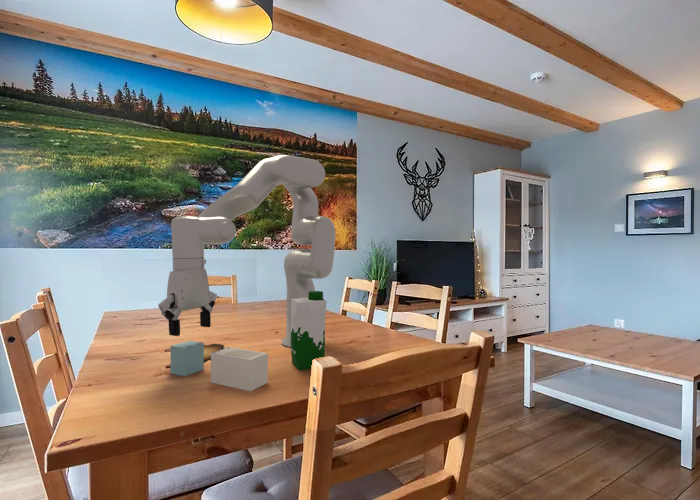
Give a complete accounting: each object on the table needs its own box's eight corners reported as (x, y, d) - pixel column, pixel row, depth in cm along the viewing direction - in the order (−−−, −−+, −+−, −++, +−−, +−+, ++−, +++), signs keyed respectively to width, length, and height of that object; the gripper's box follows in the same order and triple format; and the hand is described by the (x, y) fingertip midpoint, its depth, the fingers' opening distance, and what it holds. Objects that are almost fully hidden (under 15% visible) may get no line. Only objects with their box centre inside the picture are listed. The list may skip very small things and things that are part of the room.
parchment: (200, 345, 124) (200, 342, 124) (230, 344, 124) (230, 342, 124) (162, 371, 99) (162, 367, 99) (200, 370, 99) (200, 367, 99)
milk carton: (328, 367, 101) (329, 293, 101) (295, 372, 97) (296, 294, 97) (318, 358, 109) (318, 289, 109) (287, 362, 105) (288, 291, 105)
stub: (189, 366, 101) (190, 340, 101) (203, 369, 98) (203, 342, 98) (170, 373, 95) (170, 345, 95) (184, 376, 93) (184, 347, 93)
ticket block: (229, 374, 94) (229, 346, 94) (267, 382, 89) (267, 352, 89) (210, 382, 89) (210, 352, 89) (250, 391, 84) (250, 359, 84)
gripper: (204, 262, 106) (206, 322, 107) (148, 267, 91) (150, 337, 91) (224, 262, 103) (226, 325, 104) (169, 268, 87) (171, 341, 88)
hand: (190, 330), depth 97 cm, fingers open, 9 cm apart
